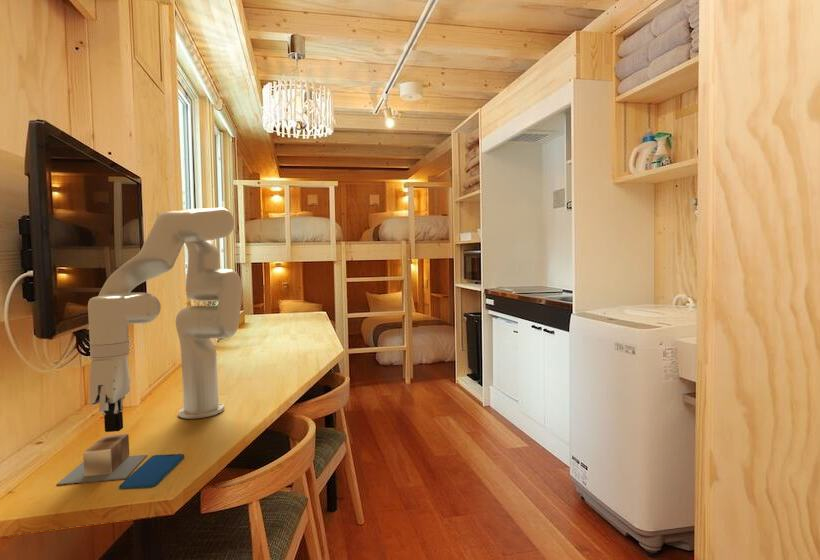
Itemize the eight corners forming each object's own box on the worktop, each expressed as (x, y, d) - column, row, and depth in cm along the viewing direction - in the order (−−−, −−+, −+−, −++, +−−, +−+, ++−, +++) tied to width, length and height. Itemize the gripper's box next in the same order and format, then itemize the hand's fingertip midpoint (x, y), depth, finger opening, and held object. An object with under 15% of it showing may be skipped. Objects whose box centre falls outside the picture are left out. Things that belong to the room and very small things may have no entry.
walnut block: (104, 435, 111) (83, 452, 101) (128, 433, 112) (109, 450, 102) (105, 457, 111) (84, 476, 101) (129, 455, 112) (110, 474, 102)
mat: (85, 461, 110) (85, 459, 110) (147, 455, 112) (147, 454, 112) (56, 485, 98) (56, 484, 98) (126, 479, 100) (126, 477, 100)
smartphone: (116, 487, 96) (152, 455, 111) (116, 492, 96) (153, 459, 111) (154, 486, 96) (185, 453, 111) (155, 490, 96) (186, 457, 111)
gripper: (106, 345, 116) (110, 420, 117) (74, 357, 102) (79, 444, 102) (140, 343, 118) (144, 418, 118) (113, 355, 103) (118, 441, 104)
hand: (114, 430), depth 110 cm, fingers closed
